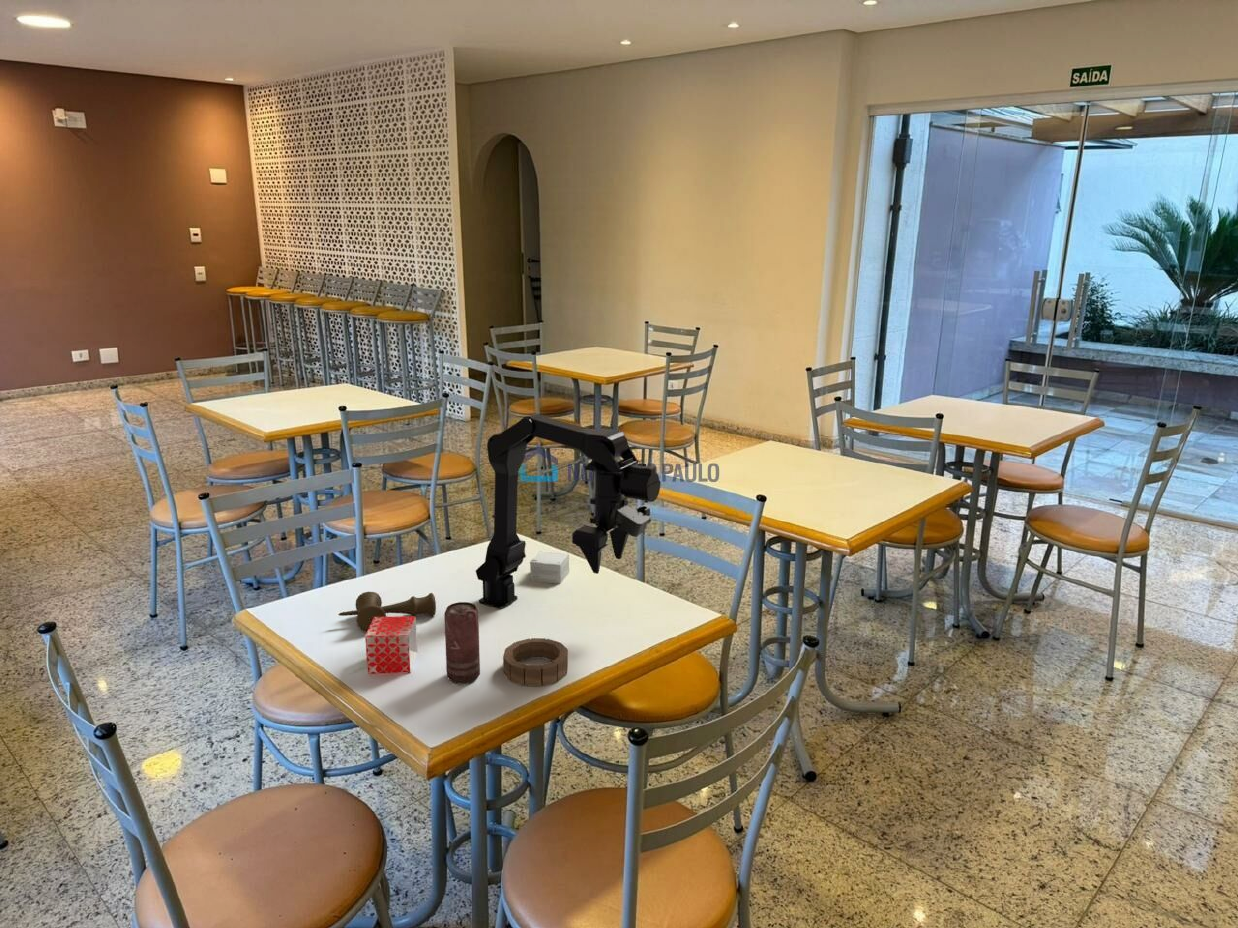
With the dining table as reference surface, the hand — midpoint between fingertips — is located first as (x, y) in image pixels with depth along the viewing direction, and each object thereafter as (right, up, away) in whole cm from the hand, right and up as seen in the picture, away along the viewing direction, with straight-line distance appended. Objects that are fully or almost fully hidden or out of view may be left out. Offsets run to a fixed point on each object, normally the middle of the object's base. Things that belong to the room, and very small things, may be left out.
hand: (607, 565), depth 168 cm
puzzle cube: (-41, -18, -11) cm, 46 cm away
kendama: (-47, -13, +7) cm, 49 cm away
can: (-27, -19, -15) cm, 36 cm away
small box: (-14, -7, +31) cm, 35 cm away
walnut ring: (-13, -18, -12) cm, 26 cm away
